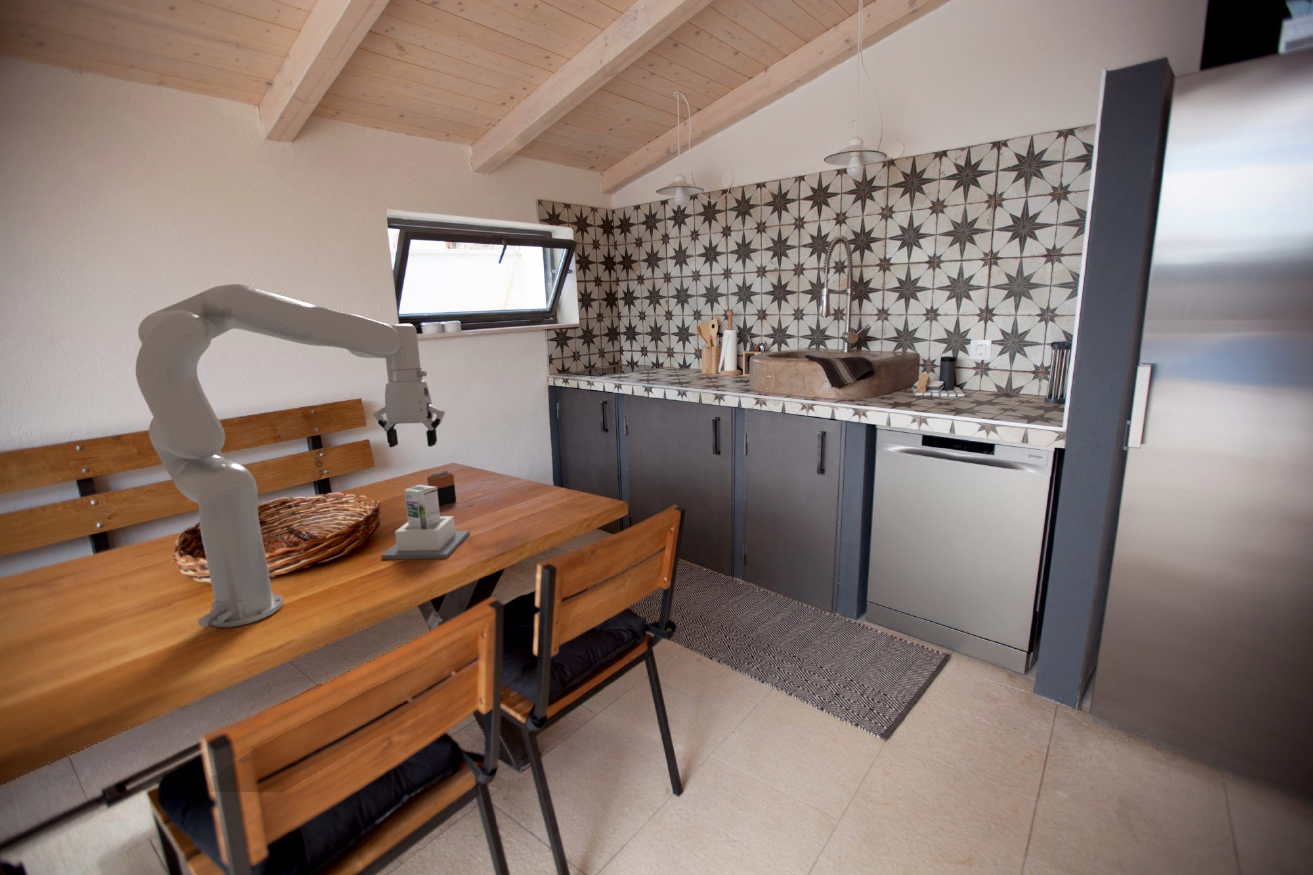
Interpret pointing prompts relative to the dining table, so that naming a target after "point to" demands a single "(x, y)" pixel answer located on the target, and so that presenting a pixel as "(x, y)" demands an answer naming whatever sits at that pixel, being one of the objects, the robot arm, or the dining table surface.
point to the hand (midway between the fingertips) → (412, 445)
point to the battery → (443, 487)
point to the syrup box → (422, 507)
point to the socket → (426, 541)
